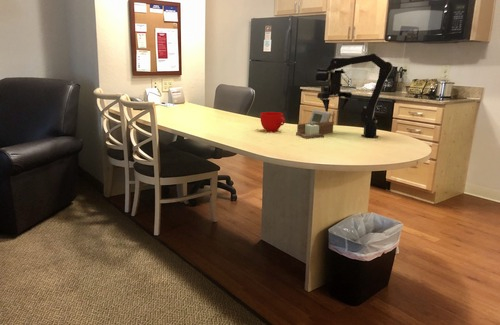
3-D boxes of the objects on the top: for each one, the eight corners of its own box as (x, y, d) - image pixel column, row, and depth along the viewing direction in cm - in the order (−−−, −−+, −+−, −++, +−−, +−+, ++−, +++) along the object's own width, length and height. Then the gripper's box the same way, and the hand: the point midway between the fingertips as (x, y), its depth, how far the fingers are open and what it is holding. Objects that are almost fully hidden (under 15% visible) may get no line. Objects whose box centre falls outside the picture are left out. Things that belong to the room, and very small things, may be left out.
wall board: (342, 135, 211) (343, 124, 209) (305, 138, 203) (306, 127, 201) (331, 132, 220) (331, 121, 219) (295, 135, 212) (296, 124, 210)
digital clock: (307, 126, 238) (307, 109, 235) (320, 126, 240) (321, 108, 237) (318, 131, 222) (319, 113, 220) (332, 130, 225) (333, 112, 222)
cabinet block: (318, 136, 208) (319, 124, 206) (310, 137, 206) (311, 124, 205) (312, 134, 214) (313, 122, 212) (304, 135, 212) (305, 123, 210)
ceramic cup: (275, 134, 213) (275, 116, 210) (255, 130, 225) (255, 113, 223) (292, 132, 220) (292, 114, 218) (272, 128, 233) (272, 111, 230)
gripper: (341, 80, 219) (339, 108, 223) (312, 81, 212) (311, 110, 216) (353, 81, 209) (351, 111, 213) (323, 82, 202) (322, 112, 206)
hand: (333, 111), depth 213 cm, fingers open, 9 cm apart
